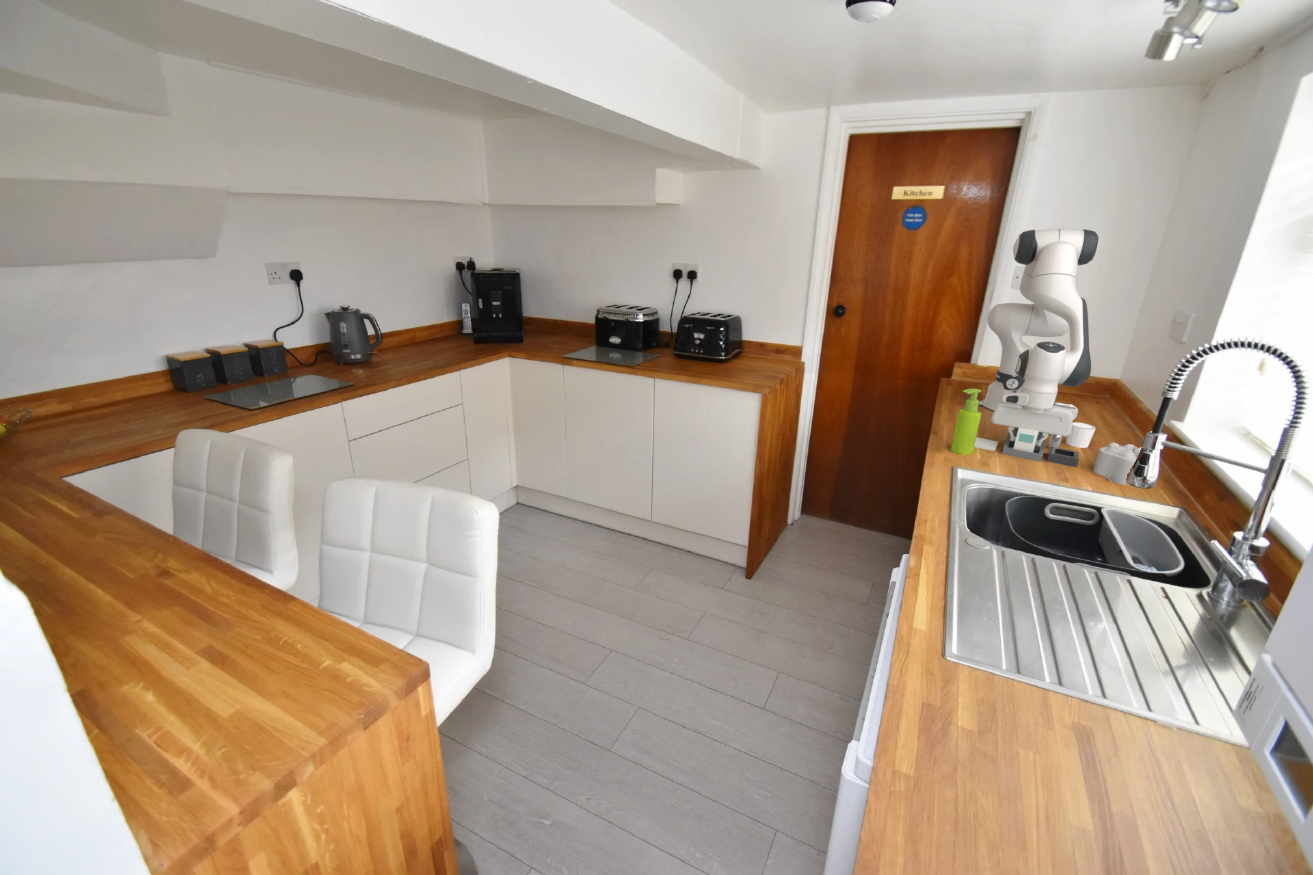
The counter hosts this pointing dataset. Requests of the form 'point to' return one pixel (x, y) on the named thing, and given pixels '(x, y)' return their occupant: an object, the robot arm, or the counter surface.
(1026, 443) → the block
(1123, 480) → the lumpy-topped squat cylinder
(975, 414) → the soap dispenser
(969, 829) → the counter surface
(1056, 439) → the rod
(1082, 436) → the white faceted tapered cup
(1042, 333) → the robot arm
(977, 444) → the plate
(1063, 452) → the rod bracket
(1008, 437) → the grey device stand
